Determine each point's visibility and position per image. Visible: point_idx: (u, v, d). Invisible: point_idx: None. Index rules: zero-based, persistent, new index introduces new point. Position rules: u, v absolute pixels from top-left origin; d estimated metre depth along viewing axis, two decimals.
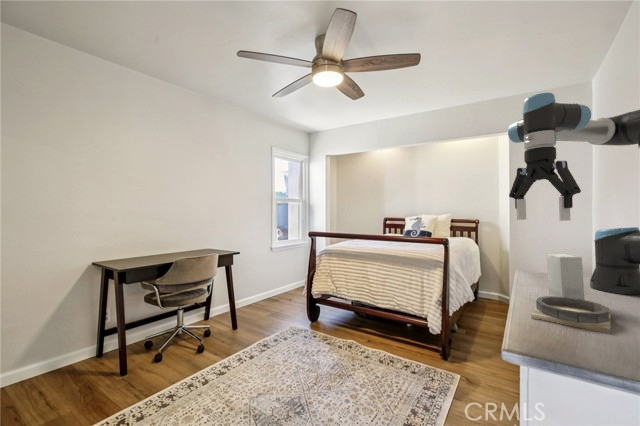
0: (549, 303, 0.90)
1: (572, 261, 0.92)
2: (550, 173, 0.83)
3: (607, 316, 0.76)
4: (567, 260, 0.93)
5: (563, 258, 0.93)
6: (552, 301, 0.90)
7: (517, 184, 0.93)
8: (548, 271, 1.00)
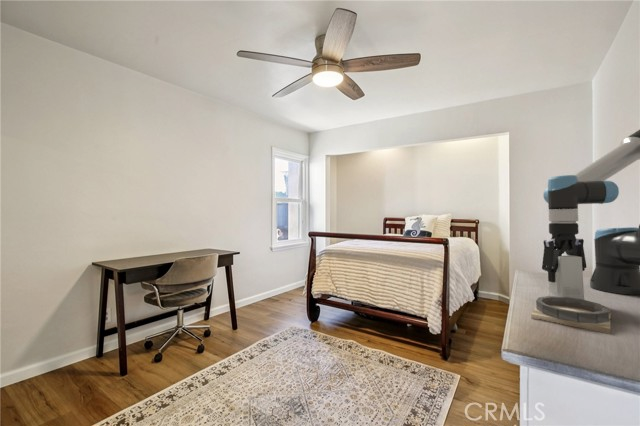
0: (549, 303, 0.90)
1: (572, 261, 0.92)
2: (558, 247, 0.96)
3: (607, 316, 0.76)
4: (567, 260, 0.93)
5: (563, 258, 0.93)
6: (552, 301, 0.90)
7: None
8: None
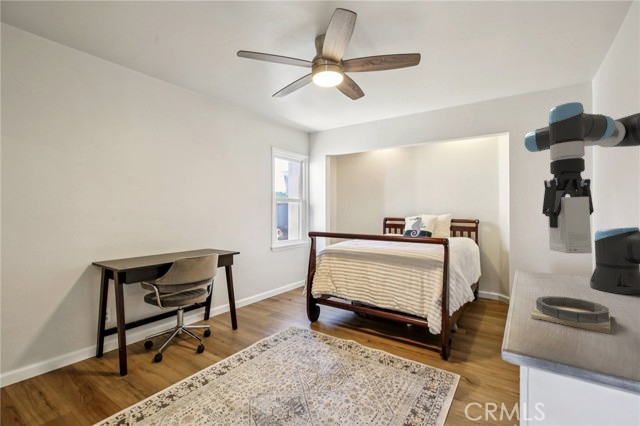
0: (549, 303, 0.90)
1: (578, 202, 0.79)
2: (561, 188, 0.82)
3: (607, 316, 0.76)
4: (571, 201, 0.79)
5: (567, 198, 0.80)
6: (552, 301, 0.90)
7: None
8: None
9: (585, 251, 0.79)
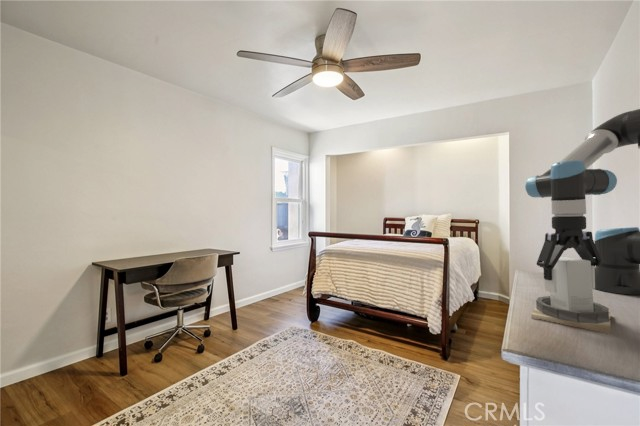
0: (549, 303, 0.90)
1: (580, 266, 0.79)
2: (561, 243, 0.82)
3: (607, 316, 0.76)
4: (574, 265, 0.79)
5: (569, 262, 0.80)
6: None
7: None
8: None
9: None
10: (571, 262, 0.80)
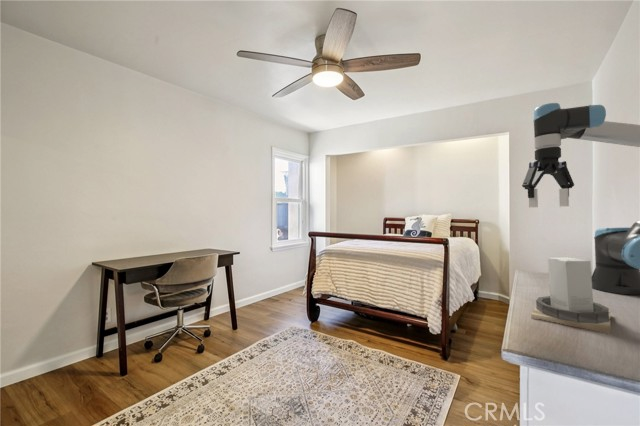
0: (549, 303, 0.90)
1: (580, 266, 0.79)
2: (541, 169, 1.04)
3: (607, 316, 0.76)
4: (574, 265, 0.79)
5: (569, 262, 0.80)
6: None
7: None
8: (550, 277, 0.87)
9: None
10: (571, 262, 0.80)
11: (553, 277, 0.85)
